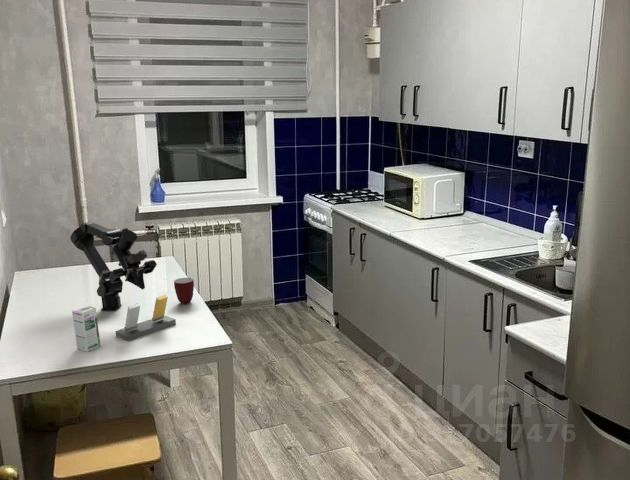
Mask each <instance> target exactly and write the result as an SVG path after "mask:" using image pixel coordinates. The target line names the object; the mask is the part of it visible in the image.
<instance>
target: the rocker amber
mask: <svg viewBox="0 0 630 480" xmlns="http://www.w3.org/2000/svg"><path fill="white" fill-rule="evenodd" d="M168 299H169V298H168V296H167V295H166V294H164V295H161V296H157V297H156V299H155V303H154V308H153V309H154V310H153V314H152V317H151V319H152V321H153V322H154V321H157V320H160V319H163V318H164V315H165V313H166V307H167V302H168Z"/></svg>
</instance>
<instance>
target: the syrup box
mask: <svg viewBox="0 0 630 480" xmlns="http://www.w3.org/2000/svg"><path fill="white" fill-rule="evenodd" d="M71 314H72V323H73V327H74V335H75V341H76V342H75V343H76V348H77V350H80V351H84V352H89V351H91V350H93V349H94V350H95V349H96V348H99V347H101V346H102V345H101V339H100V330H99V325H98V317H97V308H96V307H94V306H91V305H84V306H81V307H79V308H76V309H72V310H71Z"/></svg>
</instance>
